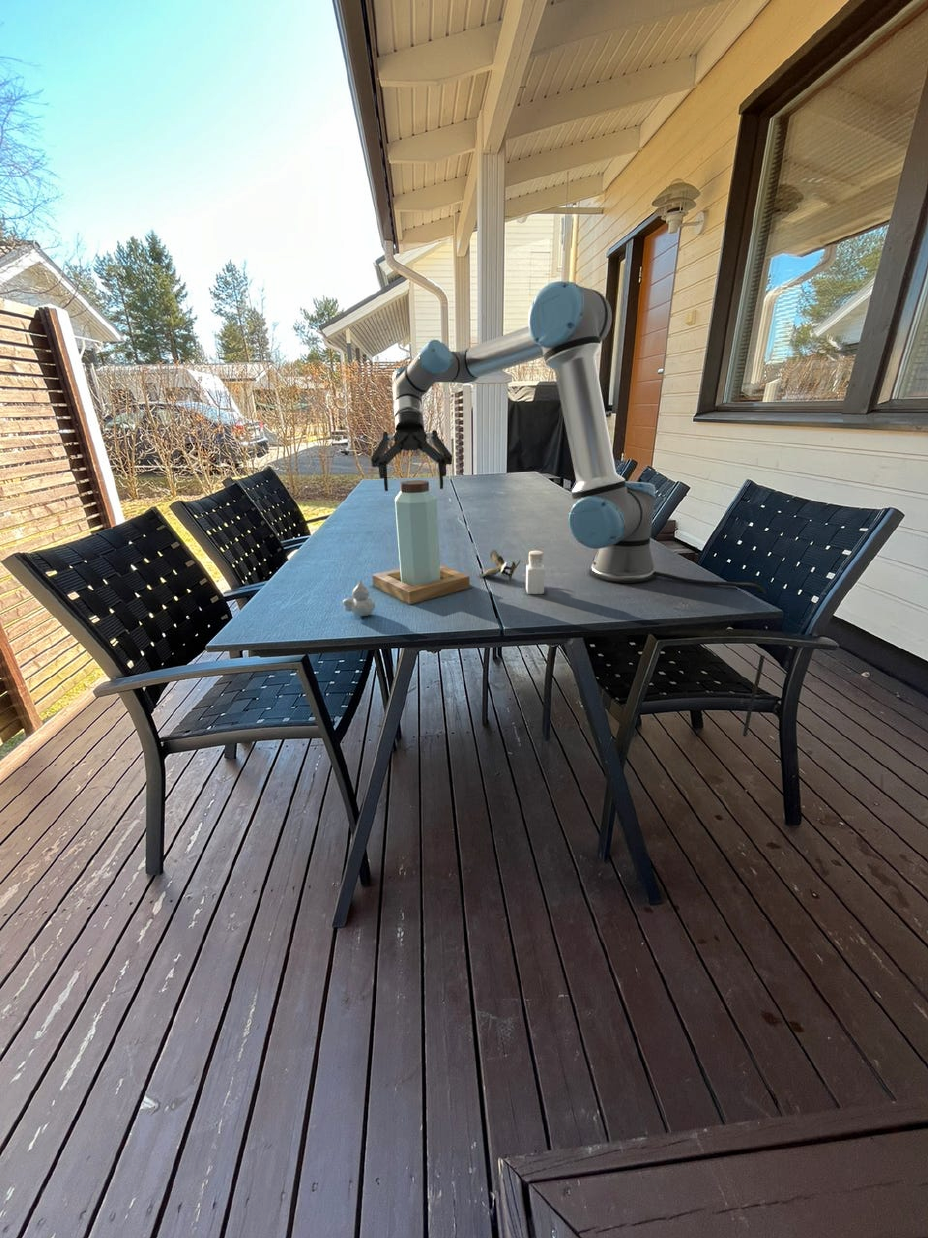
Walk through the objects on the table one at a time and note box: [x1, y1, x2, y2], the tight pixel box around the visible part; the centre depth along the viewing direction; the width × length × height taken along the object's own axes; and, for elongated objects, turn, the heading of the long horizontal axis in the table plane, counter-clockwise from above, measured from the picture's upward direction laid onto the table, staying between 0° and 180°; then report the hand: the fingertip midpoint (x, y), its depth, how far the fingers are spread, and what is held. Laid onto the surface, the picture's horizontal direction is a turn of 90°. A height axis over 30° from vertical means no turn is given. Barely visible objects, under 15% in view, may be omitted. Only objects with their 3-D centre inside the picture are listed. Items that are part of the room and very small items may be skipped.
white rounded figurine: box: [342, 580, 376, 617], centre depth 110 cm, size 5×7×8 cm
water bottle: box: [394, 479, 441, 587], centre depth 123 cm, size 10×10×25 cm
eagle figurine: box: [480, 549, 521, 581], centre depth 132 cm, size 8×7×9 cm
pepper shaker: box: [525, 550, 546, 595], centre depth 121 cm, size 4×4×10 cm
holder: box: [372, 564, 471, 605], centre depth 127 cm, size 17×17×3 cm
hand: (413, 486), depth 129 cm, fingers open, 13 cm apart
